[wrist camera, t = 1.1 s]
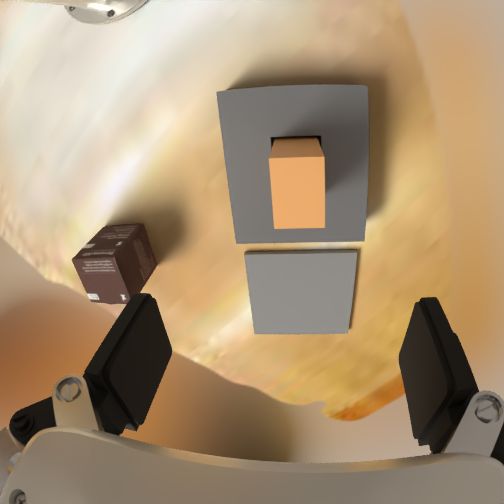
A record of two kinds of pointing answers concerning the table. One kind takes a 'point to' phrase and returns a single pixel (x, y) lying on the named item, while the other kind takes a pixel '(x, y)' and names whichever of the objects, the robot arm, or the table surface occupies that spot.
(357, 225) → the socket block
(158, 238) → the table surface
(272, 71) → the table surface
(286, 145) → the plug
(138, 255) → the box
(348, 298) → the mat
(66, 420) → the robot arm
